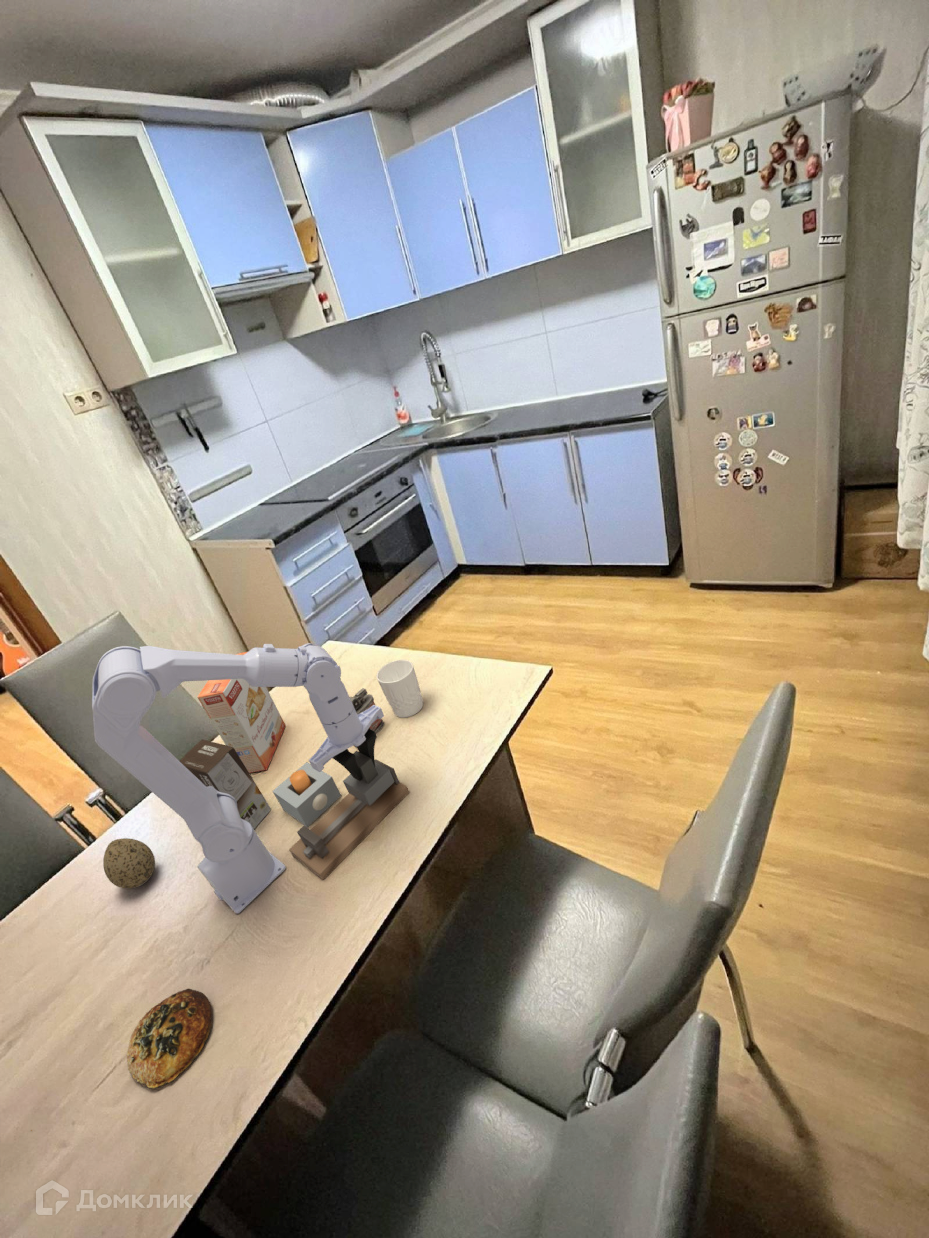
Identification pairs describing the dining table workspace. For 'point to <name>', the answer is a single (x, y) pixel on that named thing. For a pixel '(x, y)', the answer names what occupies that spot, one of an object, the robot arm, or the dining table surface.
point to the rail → (344, 828)
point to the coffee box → (227, 778)
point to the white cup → (400, 687)
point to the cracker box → (244, 719)
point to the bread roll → (169, 1038)
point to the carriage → (368, 780)
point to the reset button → (300, 781)
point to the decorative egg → (128, 863)
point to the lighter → (366, 707)
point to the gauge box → (308, 796)
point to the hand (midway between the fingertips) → (364, 771)
